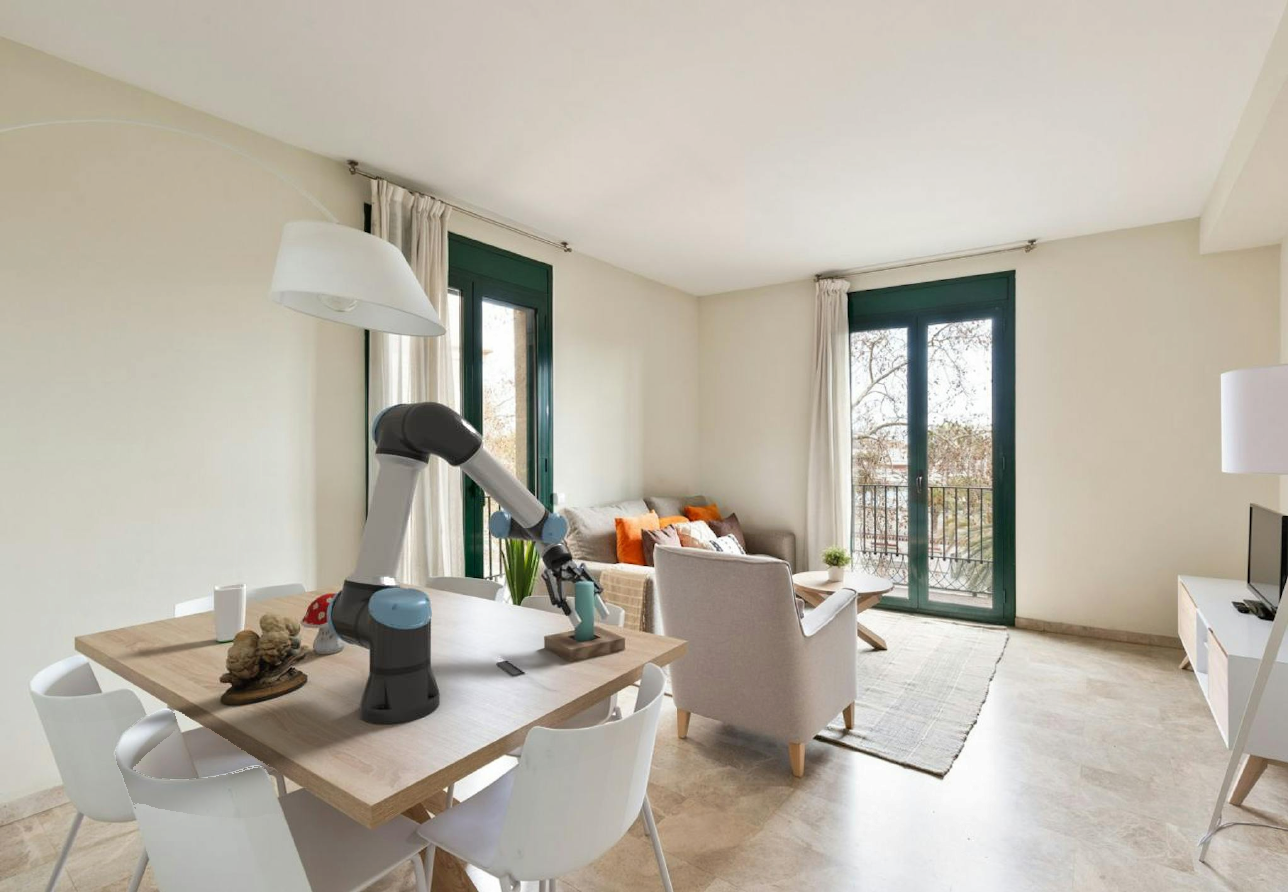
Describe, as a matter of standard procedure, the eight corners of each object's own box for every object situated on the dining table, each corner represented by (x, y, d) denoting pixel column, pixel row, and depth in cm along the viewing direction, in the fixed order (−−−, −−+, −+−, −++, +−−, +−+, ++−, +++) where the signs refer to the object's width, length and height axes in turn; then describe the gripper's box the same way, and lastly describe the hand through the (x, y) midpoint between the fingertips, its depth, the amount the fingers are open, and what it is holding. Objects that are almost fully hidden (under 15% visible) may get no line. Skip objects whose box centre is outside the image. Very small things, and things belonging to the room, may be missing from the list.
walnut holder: (570, 666, 149) (570, 649, 149) (544, 651, 160) (544, 636, 160) (625, 653, 158) (624, 637, 158) (596, 640, 170) (596, 625, 170)
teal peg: (580, 652, 156) (580, 586, 156) (571, 648, 160) (571, 582, 160) (597, 649, 159) (597, 583, 159) (587, 644, 163) (587, 580, 163)
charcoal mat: (513, 676, 142) (513, 674, 142) (496, 664, 150) (496, 662, 150) (552, 667, 148) (552, 665, 148) (533, 656, 156) (533, 654, 156)
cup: (243, 634, 177) (244, 582, 177) (246, 640, 171) (246, 587, 172) (213, 639, 173) (213, 586, 173) (214, 645, 167) (214, 590, 167)
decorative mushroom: (369, 648, 164) (369, 592, 164) (317, 663, 152) (317, 602, 152) (341, 639, 172) (341, 586, 172) (289, 653, 160) (289, 595, 160)
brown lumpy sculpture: (293, 673, 145) (293, 601, 146) (323, 682, 139) (323, 606, 140) (208, 699, 130) (208, 618, 130) (238, 711, 124) (238, 626, 124)
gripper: (578, 555, 178) (616, 620, 167) (515, 565, 162) (552, 638, 151) (590, 539, 174) (629, 604, 163) (526, 547, 159) (565, 620, 148)
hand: (592, 620), depth 157 cm, fingers open, 9 cm apart
